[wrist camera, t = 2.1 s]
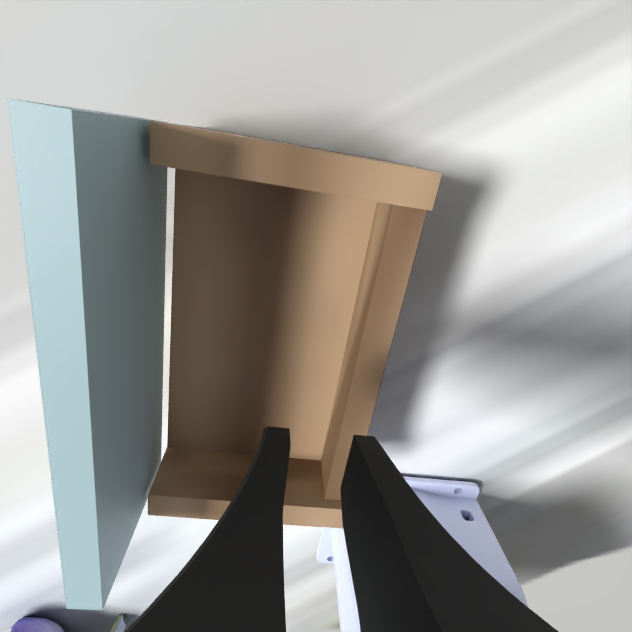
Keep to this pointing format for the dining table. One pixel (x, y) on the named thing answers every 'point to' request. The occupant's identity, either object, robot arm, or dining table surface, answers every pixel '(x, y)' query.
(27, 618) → the flower
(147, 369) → the light blue panel
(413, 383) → the dining table surface
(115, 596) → the dining table surface
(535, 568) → the dining table surface
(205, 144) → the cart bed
